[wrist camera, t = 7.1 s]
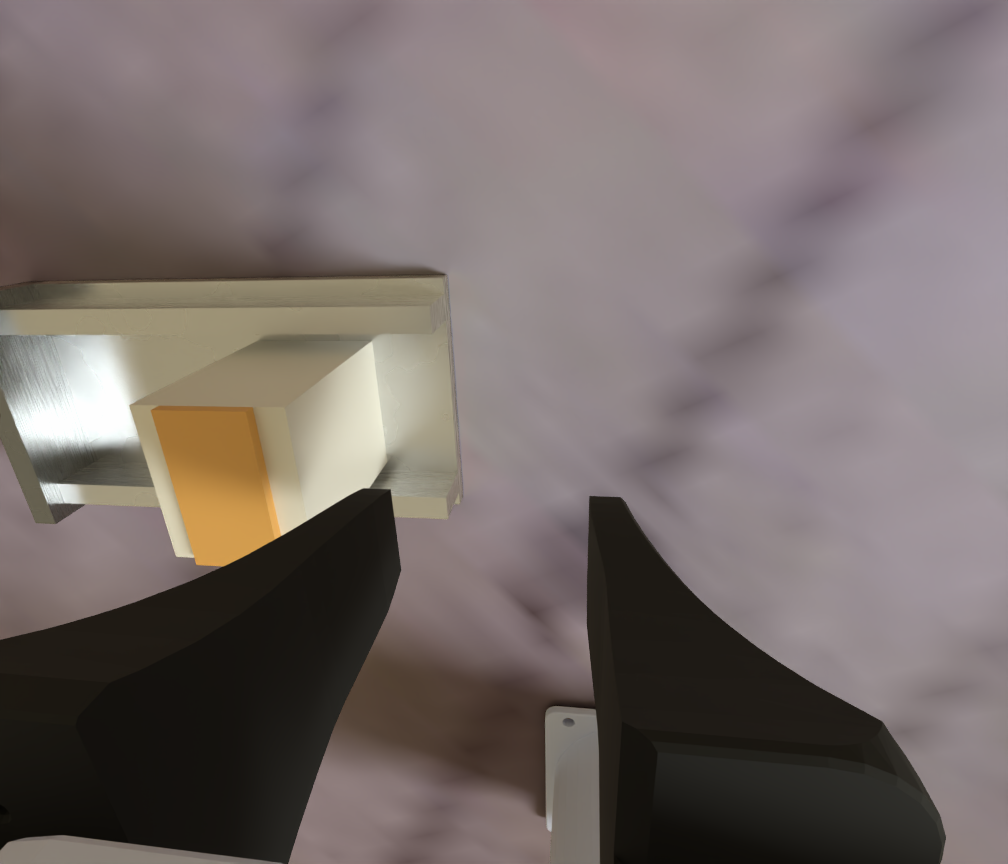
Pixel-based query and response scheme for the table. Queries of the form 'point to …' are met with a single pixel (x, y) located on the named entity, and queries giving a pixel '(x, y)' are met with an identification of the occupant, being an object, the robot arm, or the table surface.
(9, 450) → the grey piece
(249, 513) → the block
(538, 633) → the table surface
